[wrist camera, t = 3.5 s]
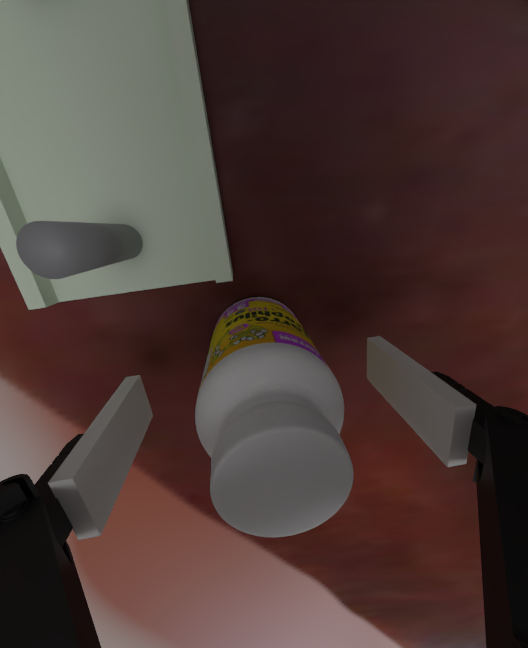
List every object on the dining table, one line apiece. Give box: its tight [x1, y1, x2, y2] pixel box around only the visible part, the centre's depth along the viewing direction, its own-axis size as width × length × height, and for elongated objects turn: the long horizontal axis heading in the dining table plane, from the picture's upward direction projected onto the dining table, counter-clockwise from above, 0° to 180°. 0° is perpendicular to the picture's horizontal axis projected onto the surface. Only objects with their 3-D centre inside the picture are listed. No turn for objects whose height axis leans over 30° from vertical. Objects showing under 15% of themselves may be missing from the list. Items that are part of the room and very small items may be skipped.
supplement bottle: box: [195, 297, 353, 537], centre depth 15 cm, size 7×7×13 cm
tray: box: [0, 0, 233, 310], centre depth 11 cm, size 18×12×8 cm, turn 7°
